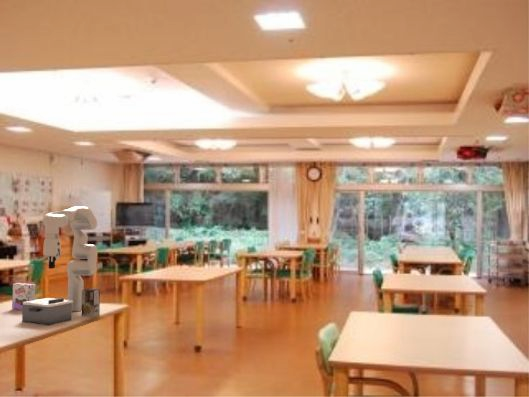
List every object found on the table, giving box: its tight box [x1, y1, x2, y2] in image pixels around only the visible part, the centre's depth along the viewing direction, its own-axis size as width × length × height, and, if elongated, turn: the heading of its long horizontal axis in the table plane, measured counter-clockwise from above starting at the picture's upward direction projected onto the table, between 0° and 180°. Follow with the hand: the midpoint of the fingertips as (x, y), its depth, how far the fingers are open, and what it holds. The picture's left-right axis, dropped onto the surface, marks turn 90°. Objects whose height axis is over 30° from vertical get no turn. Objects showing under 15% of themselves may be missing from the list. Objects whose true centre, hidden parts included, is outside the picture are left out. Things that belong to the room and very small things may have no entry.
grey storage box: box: [21, 303, 73, 326], centre depth 350 cm, size 22×20×10 cm
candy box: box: [11, 282, 36, 311], centre depth 387 cm, size 14×6×16 cm, turn 68°
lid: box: [23, 297, 73, 307], centre depth 350 cm, size 19×20×3 cm
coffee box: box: [81, 288, 101, 318], centre depth 368 cm, size 9×6×16 cm
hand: (51, 268), depth 353 cm, fingers closed
